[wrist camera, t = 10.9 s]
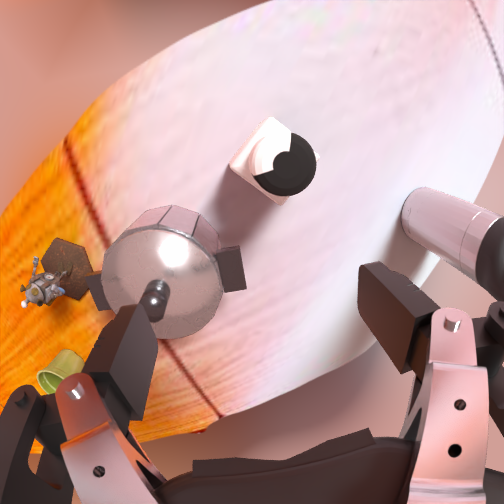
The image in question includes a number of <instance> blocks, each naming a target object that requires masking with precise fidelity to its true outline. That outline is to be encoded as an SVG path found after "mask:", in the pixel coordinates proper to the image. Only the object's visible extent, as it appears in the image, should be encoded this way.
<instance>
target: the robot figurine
mask: <svg viewBox="0 0 504 504" xmlns="http://www.w3.org/2000/svg"><path fill="white" fill-rule="evenodd" d="M38 261H39V258H38V257H35V256H34V261H33V264H34V270H33V273H32V278H31V279H30V280H29V285H27V287H26V288H25V287H24V286H23V284H22V285H21V288H20V291H21V292H23V291H26V293H25V294H26V298H27V299H26V301H22V303H21V305H22V307H23V308H26V307H27V306H28V305H27V304H28V303H29V302H32V303H35V304H36V303H37V305H38V306H42V305H43V303H44V304H46V305H48V306H50V305H51V304H52V302H53V301H54V300H55V299H56V297H57V296H62V295H63V294H64V295H67V296H69V297H72V298H74V299H77V300H79V299H80V298H81V296H82V295H83V294H84V293H85V292H86V290H87V289H88V288H89V287H88V285H87V282H86V280H85V277H84V276H85V275H86V274H87V273H90V272H93V269H92V267H91V264H90V262H89V259H88V256H87V253H86V251H85V248H84V247H82V246H79V245H77V244H74V243H71V242H68V241H65V240H63V239H60V238H55V239H54V240H53V242H52V243H51V245H50V247H49V248H48V250H47V251H46V253H45V255H44V256H43V258H42V260H41V263H42V265H43V268H44V270H45V272H44V273H41V274H37V275H35V271H36V267H37V265H38Z"/></svg>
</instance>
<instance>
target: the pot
mask: <svg viewBox="0 0 504 504" xmlns="http://www.w3.org/2000/svg"><path fill="white" fill-rule="evenodd" d="M198 215H199V213H197V212H194V211H191V210H188V209H185V208H182V207H179V206H176V205H173V206H172V205H169V206H164V207H159V208H155V209H150V210H147V211H145V212H144V213H143V214H142V215H141V216H140V217H139V218H138V219H137V220H136V221H135V222H134V223H133V224H132V225H130V226H129V227H128V228H127V229H126V230H125V231H124V232H123V233H122V234H121V235H120V237H119V238H118V239H117V240H116V241H115V242H114V243H113V244H112V245H111V246H110V247H109V248H108V249H107V250H106V251H105V254H104V261H103V267H104V263H105V261H106V258H107V257H108V255H109V253H110V252H111V250H112V249H113V248H114V247H115V246H116V245H117V243H119V242H120V241H121V240H122V239H123V238H125V237H126V236H128V235H129V234H132V233H134V232H136V231H140V230H143V229H151V228H159V229H167V230H171V231H175V232H178V233H180V234H182V235H185V236H186V237H188V238H190V239H192V240H193V241H194V242H196V243H197V244H198V245H199V246H200V247H201V248H202V249H204V251H205V252H206V253H207V254H208V255H209V257H210V258H211V260H212V262H213V263H214V266H215V268H216V270H217V273H218V277H219V283H220V297H219V302H220V299H221V297H222V294H223V288H224V292H225V293H227V292H233V291H238V290H244V289H247V287H246V281H245V275H244V270H243V264H242V258H241V253H240V247H239V246H235V247H229V248H223V249H221V246H220V241H219V236H218V233H217V232H216V231H215V230H214V229H213V228H212V227H211V226H210V224H209V223H208V222H207V221H206V220H205V219H204V218H203V217H202V216H201V214H200V215H199V216H198ZM103 267H102V270H101V271H96V272H90V273H87V274H86V275H85V276H84V277H85V280H86V282H87V285H88V287H89V290H90V292H91V294H92V297H93V299H94V302H95V304H96V306H97V308H98V311H102V310H110V309H111V307H110V305H109V303H108V301H107V299H106V297H105V294H104V290H103V285H102V272H103ZM218 304H219V303H218ZM217 307H218V306H217ZM215 312H216V311H215ZM214 315H215V313H214ZM214 315H213V317H214ZM213 317H212V318H213ZM212 318H211V319H212Z"/></svg>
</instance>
